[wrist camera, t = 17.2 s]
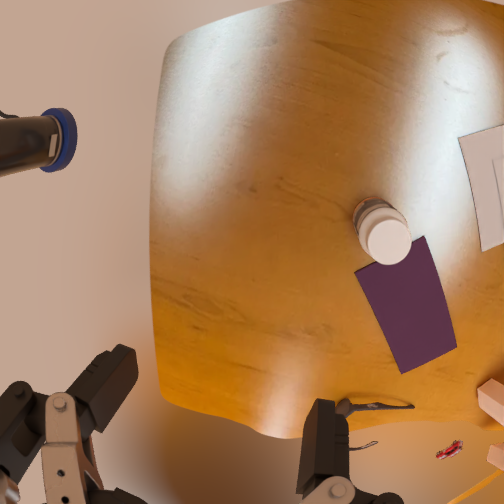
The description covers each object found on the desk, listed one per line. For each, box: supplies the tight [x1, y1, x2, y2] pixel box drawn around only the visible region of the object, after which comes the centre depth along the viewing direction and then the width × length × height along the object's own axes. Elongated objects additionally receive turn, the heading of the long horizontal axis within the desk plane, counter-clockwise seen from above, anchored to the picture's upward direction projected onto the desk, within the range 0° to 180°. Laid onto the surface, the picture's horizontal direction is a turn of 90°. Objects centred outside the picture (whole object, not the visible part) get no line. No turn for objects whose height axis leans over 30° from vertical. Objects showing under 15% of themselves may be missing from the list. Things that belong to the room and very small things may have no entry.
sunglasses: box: [335, 399, 415, 451], centre depth 47 cm, size 16×17×5 cm
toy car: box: [436, 440, 463, 459], centre depth 46 cm, size 4×8×3 cm, turn 148°
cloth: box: [355, 236, 457, 374], centre depth 38 cm, size 22×11×1 cm, turn 33°
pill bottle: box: [353, 197, 412, 265], centre depth 30 cm, size 6×6×10 cm
